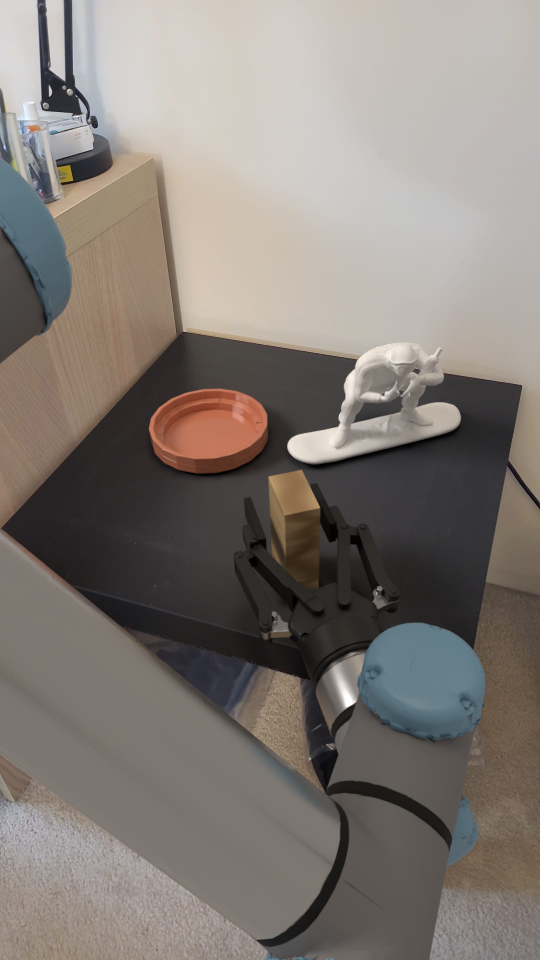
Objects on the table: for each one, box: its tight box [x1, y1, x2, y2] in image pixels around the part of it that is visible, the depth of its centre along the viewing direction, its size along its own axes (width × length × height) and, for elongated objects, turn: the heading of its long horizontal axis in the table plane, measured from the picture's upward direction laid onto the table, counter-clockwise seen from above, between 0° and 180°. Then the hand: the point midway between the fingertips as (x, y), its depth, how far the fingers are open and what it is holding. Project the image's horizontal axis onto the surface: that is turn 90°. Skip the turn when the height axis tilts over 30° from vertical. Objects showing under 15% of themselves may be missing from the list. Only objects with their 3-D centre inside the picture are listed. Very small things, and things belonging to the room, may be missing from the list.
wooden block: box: [267, 469, 321, 589], centre depth 72 cm, size 4×6×13 cm, turn 15°
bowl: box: [148, 388, 269, 474], centre depth 95 cm, size 16×16×3 cm
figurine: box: [286, 341, 462, 465], centre depth 89 cm, size 26×13×17 cm, turn 109°
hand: (281, 499), depth 75 cm, fingers open, 7 cm apart
